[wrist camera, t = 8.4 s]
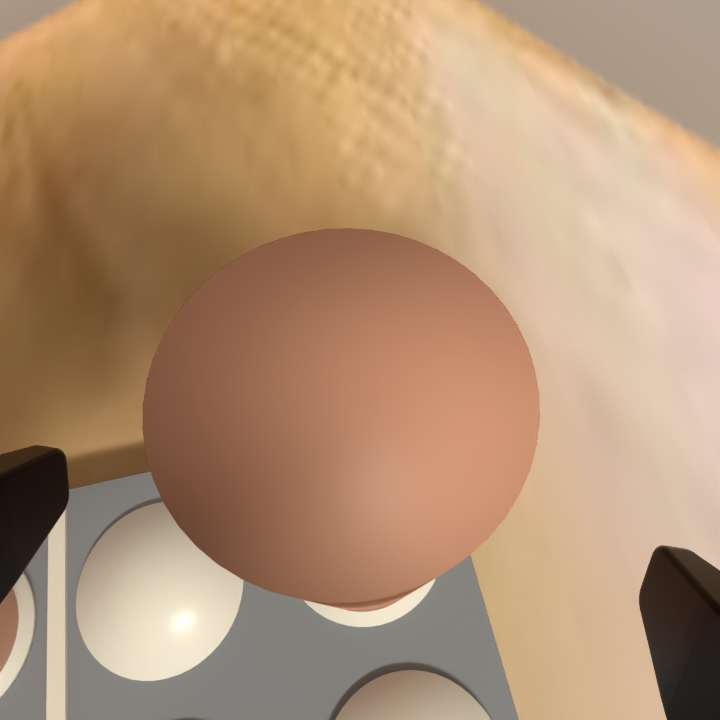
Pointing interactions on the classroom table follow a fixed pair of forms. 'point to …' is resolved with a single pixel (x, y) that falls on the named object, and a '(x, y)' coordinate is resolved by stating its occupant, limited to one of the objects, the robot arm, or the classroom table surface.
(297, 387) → the terracotta pin
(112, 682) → the pattern board
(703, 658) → the robot arm
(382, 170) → the classroom table surface
